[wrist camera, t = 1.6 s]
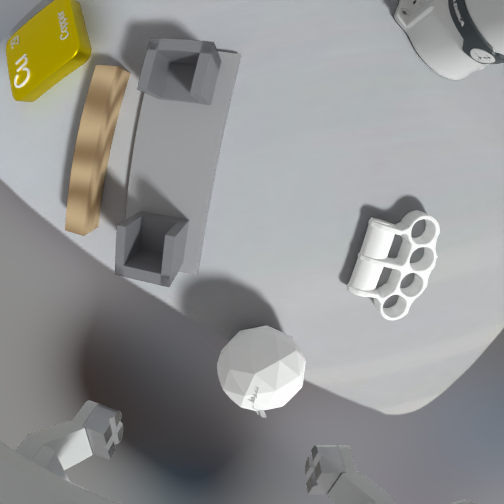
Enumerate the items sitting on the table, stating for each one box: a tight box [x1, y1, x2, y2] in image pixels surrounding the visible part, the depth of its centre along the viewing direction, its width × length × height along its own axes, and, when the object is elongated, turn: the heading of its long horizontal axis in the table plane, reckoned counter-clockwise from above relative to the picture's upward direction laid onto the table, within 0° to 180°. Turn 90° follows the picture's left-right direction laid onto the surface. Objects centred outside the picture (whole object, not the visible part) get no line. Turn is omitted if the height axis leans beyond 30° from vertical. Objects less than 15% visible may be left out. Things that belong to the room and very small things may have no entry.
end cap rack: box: [115, 38, 241, 287], centre depth 35 cm, size 32×12×9 cm, turn 168°
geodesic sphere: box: [217, 325, 306, 417], centre depth 43 cm, size 14×14×14 cm
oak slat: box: [65, 65, 130, 236], centre depth 36 cm, size 24×4×5 cm, turn 164°
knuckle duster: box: [347, 210, 440, 320], centre depth 43 cm, size 3×18×15 cm
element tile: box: [6, 0, 91, 102], centre depth 30 cm, size 15×15×5 cm
